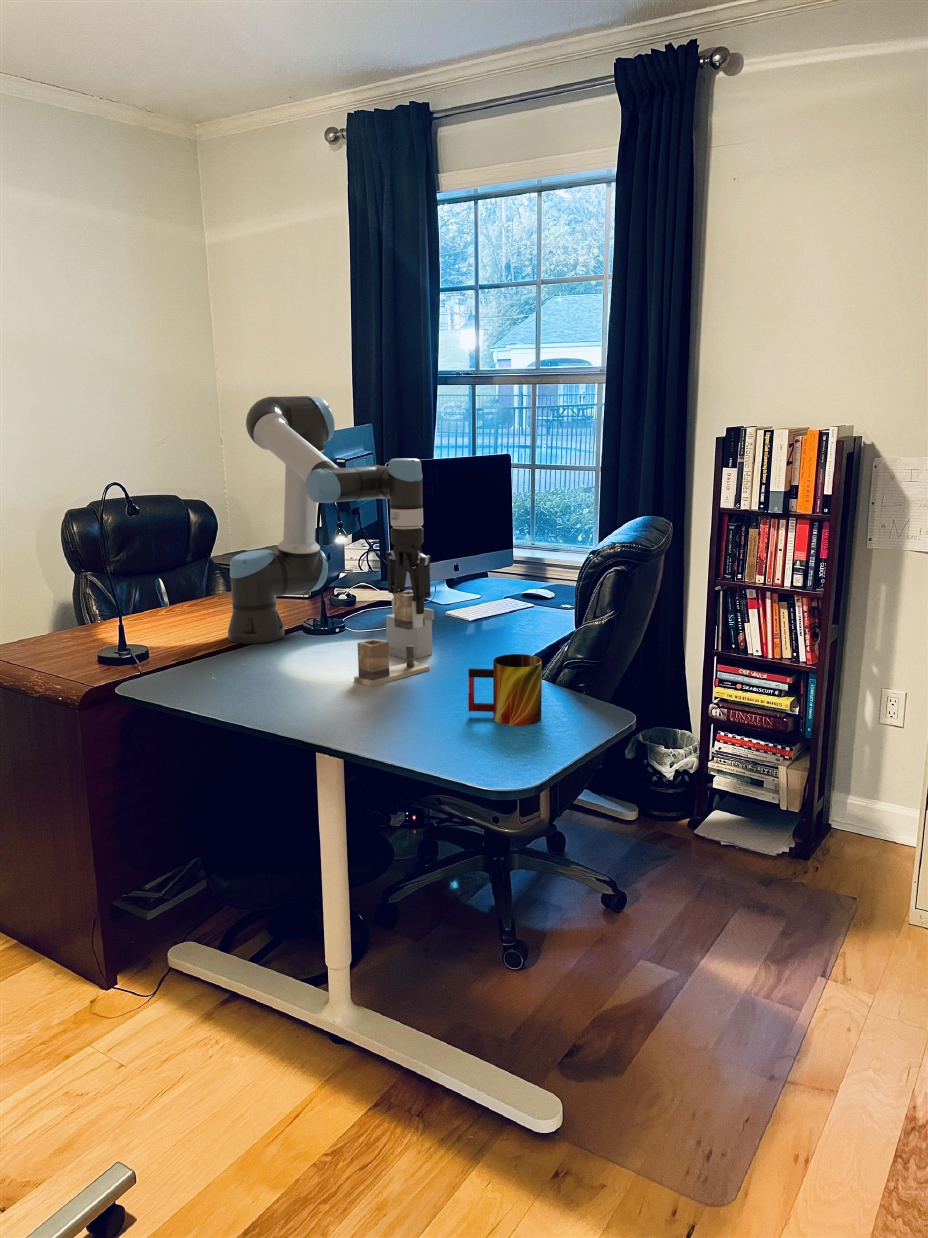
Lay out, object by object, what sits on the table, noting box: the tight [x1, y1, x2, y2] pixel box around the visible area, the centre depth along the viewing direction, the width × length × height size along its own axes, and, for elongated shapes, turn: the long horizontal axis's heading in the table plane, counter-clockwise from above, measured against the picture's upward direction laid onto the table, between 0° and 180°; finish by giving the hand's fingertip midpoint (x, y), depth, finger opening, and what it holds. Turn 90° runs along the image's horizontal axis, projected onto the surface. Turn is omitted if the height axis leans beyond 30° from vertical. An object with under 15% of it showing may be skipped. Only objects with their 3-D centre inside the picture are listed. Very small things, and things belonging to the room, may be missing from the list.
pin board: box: [353, 645, 431, 687], centre depth 209 cm, size 6×18×6 cm, turn 134°
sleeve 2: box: [393, 589, 425, 630], centre depth 210 cm, size 5×5×8 cm
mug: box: [467, 653, 543, 727], centre depth 178 cm, size 10×14×12 cm
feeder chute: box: [385, 607, 435, 661], centre depth 228 cm, size 12×9×11 cm
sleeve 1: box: [357, 638, 390, 681], centre depth 205 cm, size 5×5×8 cm
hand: (409, 625), depth 211 cm, fingers closed on sleeve 2, 5 cm apart
